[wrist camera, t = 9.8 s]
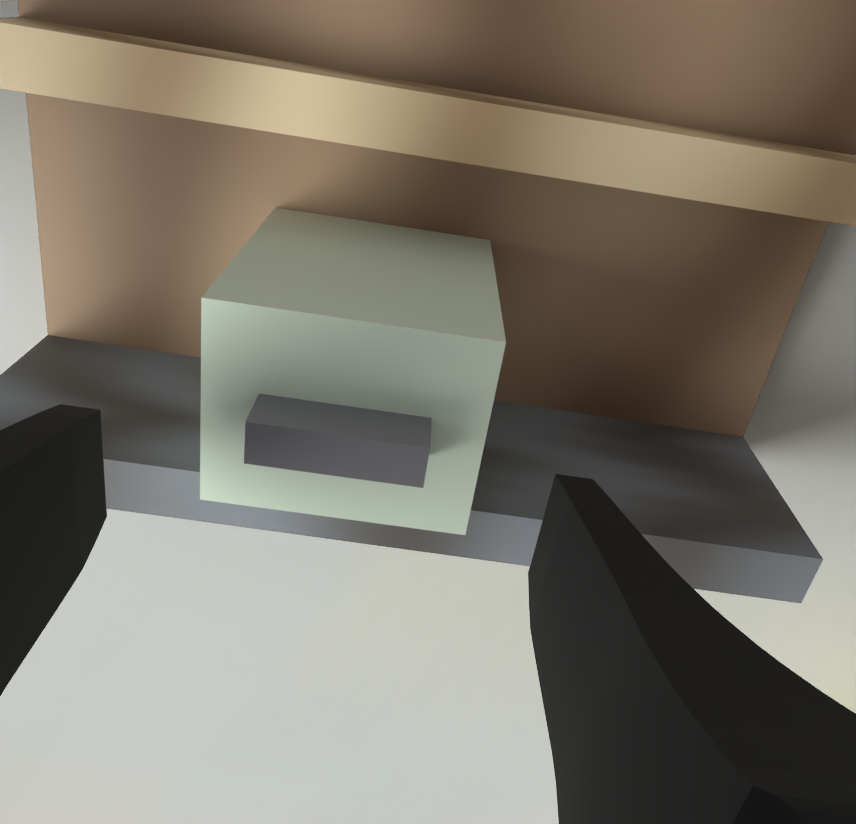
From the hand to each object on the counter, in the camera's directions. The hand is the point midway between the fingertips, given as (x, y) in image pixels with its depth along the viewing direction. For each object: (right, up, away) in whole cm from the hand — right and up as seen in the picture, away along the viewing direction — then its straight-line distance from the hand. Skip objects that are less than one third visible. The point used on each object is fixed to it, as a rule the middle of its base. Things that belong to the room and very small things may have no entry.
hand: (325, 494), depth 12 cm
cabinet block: (0, +4, +6) cm, 8 cm away
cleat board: (+2, +7, +6) cm, 10 cm away
